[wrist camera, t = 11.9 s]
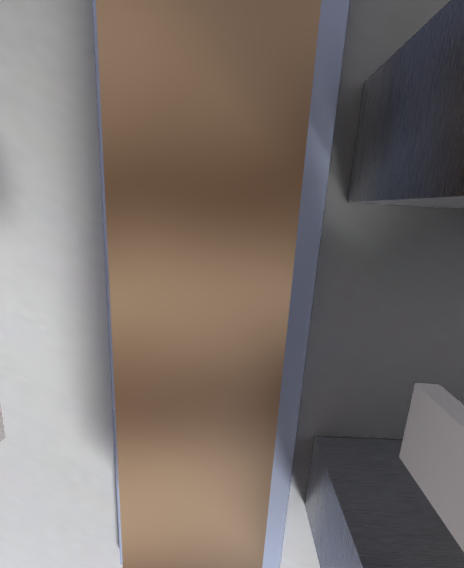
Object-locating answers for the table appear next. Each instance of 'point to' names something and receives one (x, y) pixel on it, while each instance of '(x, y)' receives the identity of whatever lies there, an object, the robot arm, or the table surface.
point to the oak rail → (201, 261)
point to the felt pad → (304, 261)
